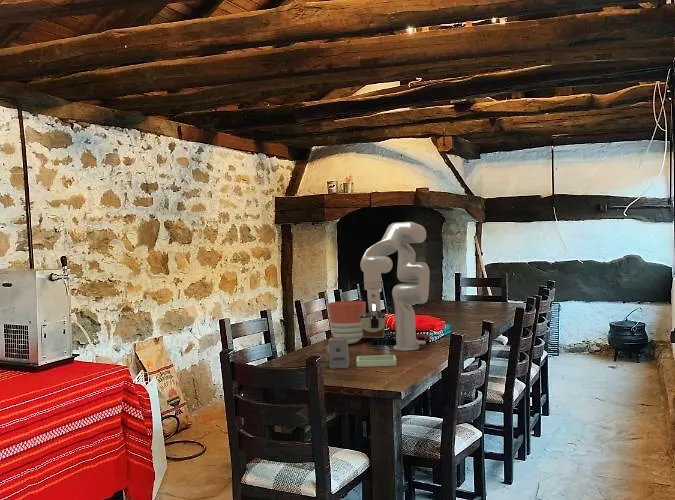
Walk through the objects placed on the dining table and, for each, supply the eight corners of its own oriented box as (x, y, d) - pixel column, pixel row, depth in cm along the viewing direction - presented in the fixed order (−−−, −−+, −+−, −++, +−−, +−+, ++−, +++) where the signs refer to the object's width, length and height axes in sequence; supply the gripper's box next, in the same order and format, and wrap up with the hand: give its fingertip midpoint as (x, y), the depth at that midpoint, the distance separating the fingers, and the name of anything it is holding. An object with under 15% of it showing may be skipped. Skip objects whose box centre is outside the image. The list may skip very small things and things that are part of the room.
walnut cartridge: (337, 359, 279) (337, 344, 278) (337, 362, 274) (336, 346, 273) (326, 360, 279) (326, 345, 279) (326, 362, 274) (325, 347, 274)
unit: (349, 364, 268) (347, 336, 268) (348, 368, 259) (347, 340, 259) (330, 364, 268) (328, 337, 268) (328, 369, 260) (327, 340, 259)
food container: (390, 335, 267) (389, 312, 267) (387, 337, 261) (386, 314, 261) (363, 335, 271) (362, 312, 271) (359, 337, 265) (358, 314, 265)
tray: (395, 360, 271) (395, 354, 271) (396, 365, 260) (396, 359, 260) (357, 361, 272) (356, 356, 272) (356, 367, 261) (356, 361, 261)
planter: (365, 339, 331) (364, 300, 330) (368, 345, 311) (366, 303, 311) (329, 341, 330) (328, 301, 330) (330, 347, 311) (328, 305, 310)
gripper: (381, 287, 257) (383, 329, 257) (381, 284, 274) (383, 323, 274) (364, 287, 257) (366, 330, 257) (364, 284, 274) (366, 324, 275)
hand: (374, 326), depth 266 cm, fingers closed on food container, 6 cm apart
